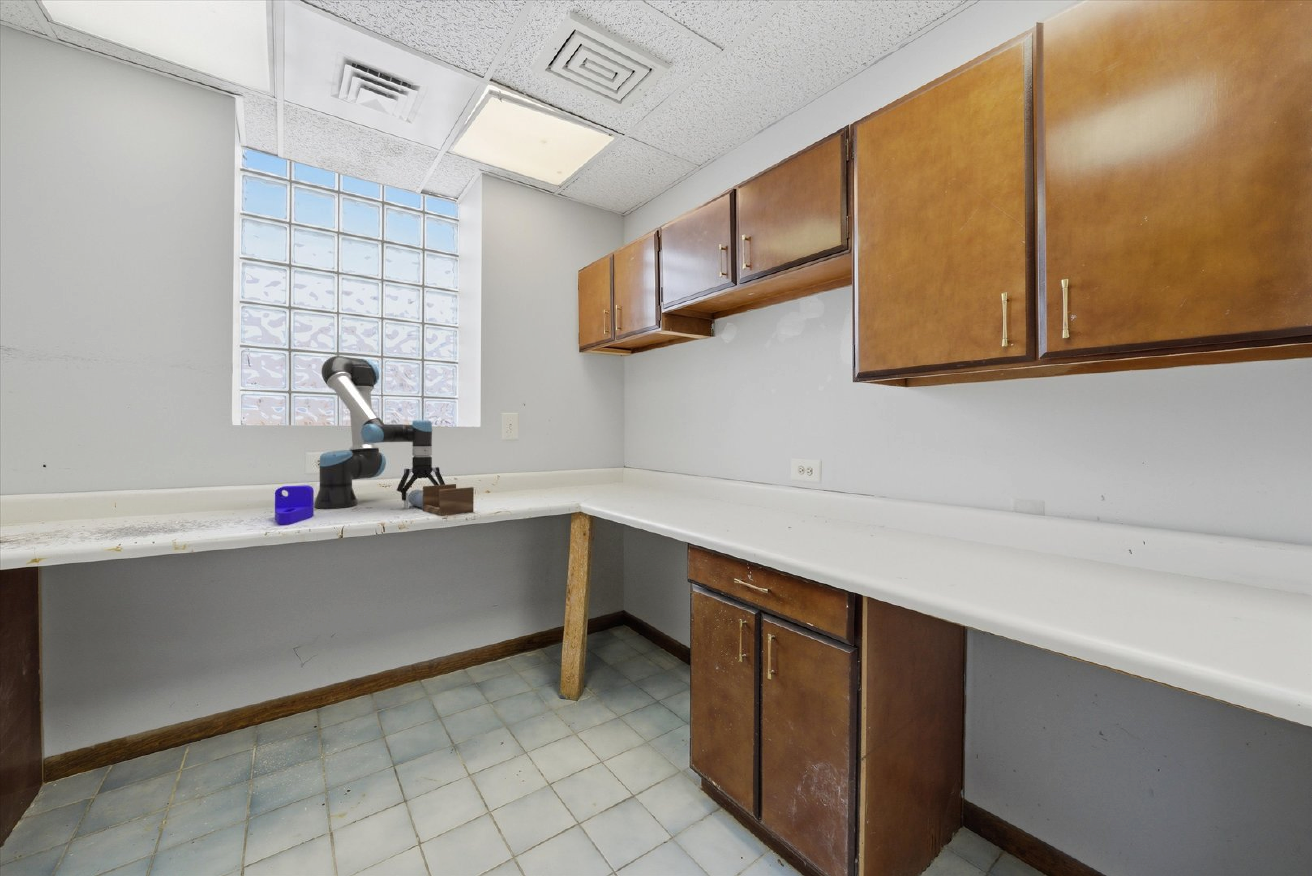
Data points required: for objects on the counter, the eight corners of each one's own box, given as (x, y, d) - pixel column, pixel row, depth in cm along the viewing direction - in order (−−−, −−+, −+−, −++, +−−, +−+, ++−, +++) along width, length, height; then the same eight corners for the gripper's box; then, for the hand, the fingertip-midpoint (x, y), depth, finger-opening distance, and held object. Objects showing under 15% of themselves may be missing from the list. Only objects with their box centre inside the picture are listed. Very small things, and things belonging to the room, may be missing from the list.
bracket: (278, 517, 183) (278, 486, 182) (313, 516, 187) (313, 485, 187) (264, 526, 166) (264, 492, 166) (303, 524, 171) (303, 490, 171)
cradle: (422, 510, 201) (422, 486, 201) (454, 507, 211) (454, 483, 211) (440, 516, 190) (440, 490, 190) (473, 511, 200) (473, 487, 200)
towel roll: (407, 506, 212) (408, 490, 212) (424, 504, 217) (424, 489, 217) (419, 509, 204) (419, 492, 204) (436, 508, 209) (436, 491, 209)
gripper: (394, 457, 198) (394, 510, 199) (454, 455, 216) (454, 504, 217) (388, 456, 203) (387, 508, 204) (446, 454, 221) (446, 502, 222)
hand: (422, 506), depth 210 cm, fingers open, 12 cm apart
